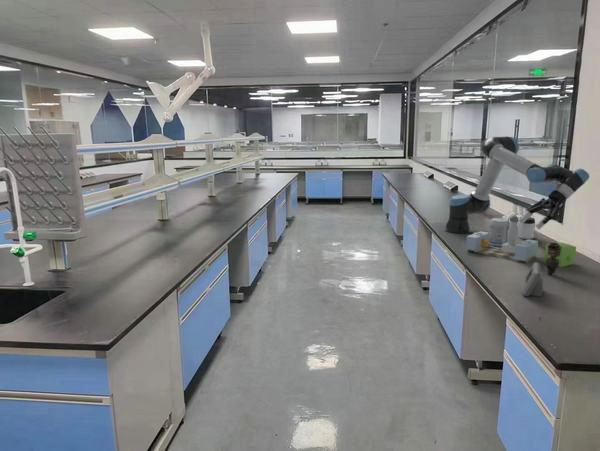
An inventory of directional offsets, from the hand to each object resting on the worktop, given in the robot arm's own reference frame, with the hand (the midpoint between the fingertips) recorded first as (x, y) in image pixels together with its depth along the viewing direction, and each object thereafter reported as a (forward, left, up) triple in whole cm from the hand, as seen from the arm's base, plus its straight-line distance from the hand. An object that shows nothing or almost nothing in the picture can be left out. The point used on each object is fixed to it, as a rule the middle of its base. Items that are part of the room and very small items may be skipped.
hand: (528, 224), depth 207 cm
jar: (-15, +42, -17) cm, 48 cm away
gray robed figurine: (+19, -48, -17) cm, 55 cm away
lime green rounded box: (+16, -1, -17) cm, 24 cm away
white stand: (-6, -4, -15) cm, 16 cm away
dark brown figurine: (+18, -20, -17) cm, 32 cm away
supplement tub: (-20, +14, -17) cm, 30 cm away
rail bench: (-11, -4, -17) cm, 21 cm away
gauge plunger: (-21, -4, -14) cm, 26 cm away
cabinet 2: (+2, -4, -16) cm, 16 cm away
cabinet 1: (-23, -4, -16) cm, 28 cm away
